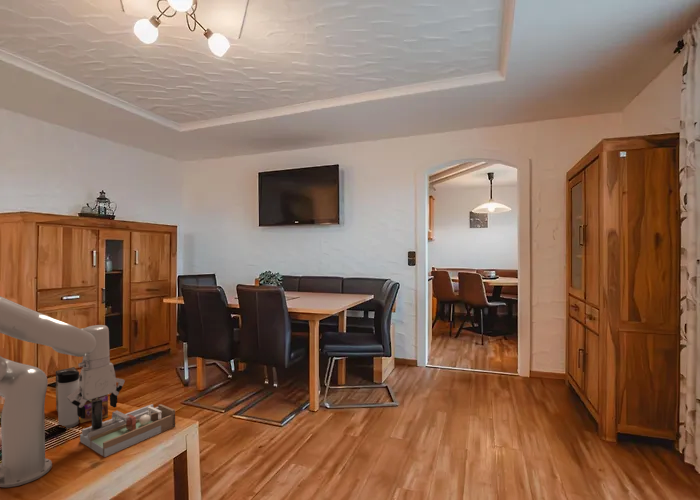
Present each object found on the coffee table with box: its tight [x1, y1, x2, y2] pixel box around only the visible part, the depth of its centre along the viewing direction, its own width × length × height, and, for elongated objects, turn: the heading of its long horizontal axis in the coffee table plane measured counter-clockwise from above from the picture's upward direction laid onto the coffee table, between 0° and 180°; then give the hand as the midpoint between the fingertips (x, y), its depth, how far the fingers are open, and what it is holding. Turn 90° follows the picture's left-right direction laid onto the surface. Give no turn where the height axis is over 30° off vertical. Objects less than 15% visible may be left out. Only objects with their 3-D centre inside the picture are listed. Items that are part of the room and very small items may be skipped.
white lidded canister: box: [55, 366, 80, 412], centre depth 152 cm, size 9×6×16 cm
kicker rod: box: [89, 399, 136, 432], centre depth 129 cm, size 10×12×11 cm
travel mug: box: [57, 371, 80, 429], centre depth 140 cm, size 6×7×20 cm
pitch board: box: [79, 403, 176, 458], centre depth 134 cm, size 24×17×7 cm
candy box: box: [79, 394, 109, 424], centre depth 145 cm, size 9×4×15 cm, turn 127°
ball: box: [139, 414, 151, 426], centre depth 135 cm, size 4×4×4 cm
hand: (98, 411), depth 129 cm, fingers open, 9 cm apart
